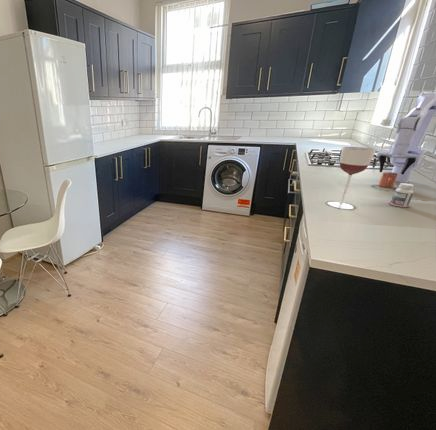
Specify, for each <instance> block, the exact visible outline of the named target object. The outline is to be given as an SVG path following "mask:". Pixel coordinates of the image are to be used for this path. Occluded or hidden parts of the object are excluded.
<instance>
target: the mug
mask: <svg viewBox="0 0 436 430" xmlns="http://www.w3.org/2000/svg"><path fill="white" fill-rule="evenodd" d="M397 177H398V174H397V173H393V172H392V171H382V172H381V176H380V179H379V181H378V184H377V186H378V187H381V188H387V189H393V188H394V187H395V184H396V183H397V182H396V179H397Z"/></svg>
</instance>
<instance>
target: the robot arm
mask: <svg viewBox="0 0 436 430" xmlns="http://www.w3.org/2000/svg"><path fill="white" fill-rule="evenodd" d="M435 118H436V92H421V93H420V94H419V96H418V97H417V99H416V107H414V108H412V109H411V111H410V112H408V113H407V115H406V116H404V117H401V118H400V119H399V122H398V124H397V130H396V136H395V139H394V141H393V144H392V147H391V149H390V152H389V151H388V152H387V151H377V153H376V155H375V156H376V157H378V160H379V161H378V162H379V173H383V169H384V166H385V164H386V161H387V158H391V163H392V166H393V167H392V170H391V172H393V173H397V174H398V177H397V179H396V182H395V183H399V184H400V183H408V184H409V181H410V178H411V176H412V173H413V170H414V168H415V167H418V166H419V165H420V164H421V162H422V160H423V157H424V154H425V152H424V150H423V149H422V148H421V147H420V146H421V144H422V142H423V140H424V138H425V136H426V134H427V132H428V130H429V128H430V126H431V124H432V122H433V121H434V119H435Z"/></svg>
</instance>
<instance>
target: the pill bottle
mask: <svg viewBox="0 0 436 430" xmlns="http://www.w3.org/2000/svg"><path fill="white" fill-rule="evenodd" d="M414 187H415V185H414V184H412V183H409V182H408V183H399V186H398V187H397V188H396V189H395V190H394V192H393V195H392V198H391V201H390V205H391V206H395V207H399V208H408V207H409V205H410V204H411V203H410V202H411V200H412V198H413V195H414V190H413V189H414Z"/></svg>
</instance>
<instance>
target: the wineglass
mask: <svg viewBox="0 0 436 430" xmlns="http://www.w3.org/2000/svg"><path fill="white" fill-rule="evenodd" d="M376 150H377V149H375V148H371V147H361V146H342V148H341V153H340V157H339V167H340V169H341V171H343V172H345V173H346V174H347V175H348V176H347V179H346V183H345V184H344V185H345V186H344V188H343V191H342V194H341V198H340V201H329V202H327V205H329V206H330V207H333V208H335V209H336V208H337V209H342V210H353V209H355V208H354V206H353V205H351V204H349V203H345V202H344V201H345V197H346V194H347V191H348V188H349V185H350V181H351V179H352V176H353V175H356V174H360V173H362V172H364V171H365V170H366V169H367V168H368V167H369V165H370V163H371V162H372V159H373V158H374V156H375V153H376V152H377V151H376Z"/></svg>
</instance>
